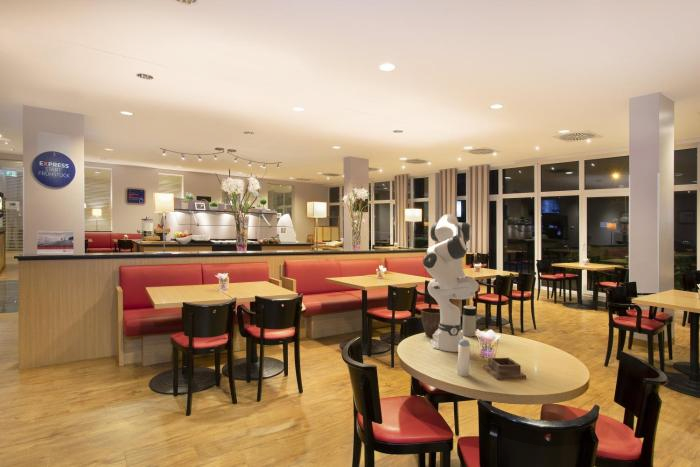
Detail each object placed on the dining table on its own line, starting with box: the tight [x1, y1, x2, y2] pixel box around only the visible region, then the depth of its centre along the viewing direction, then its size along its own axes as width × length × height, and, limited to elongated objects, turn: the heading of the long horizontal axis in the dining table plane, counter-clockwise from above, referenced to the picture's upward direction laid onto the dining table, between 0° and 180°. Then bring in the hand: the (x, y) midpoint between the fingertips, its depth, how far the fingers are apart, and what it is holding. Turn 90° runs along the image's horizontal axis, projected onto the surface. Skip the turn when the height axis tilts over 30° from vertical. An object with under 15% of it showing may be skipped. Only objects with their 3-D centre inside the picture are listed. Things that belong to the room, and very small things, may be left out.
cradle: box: [482, 357, 527, 381], centre depth 184 cm, size 14×14×6 cm
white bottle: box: [457, 338, 471, 377], centre depth 182 cm, size 5×5×16 cm
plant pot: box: [420, 307, 440, 338], centre depth 244 cm, size 15×15×16 cm
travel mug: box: [461, 305, 477, 338], centre depth 247 cm, size 8×8×18 cm
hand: (464, 295), depth 182 cm, fingers open, 8 cm apart
